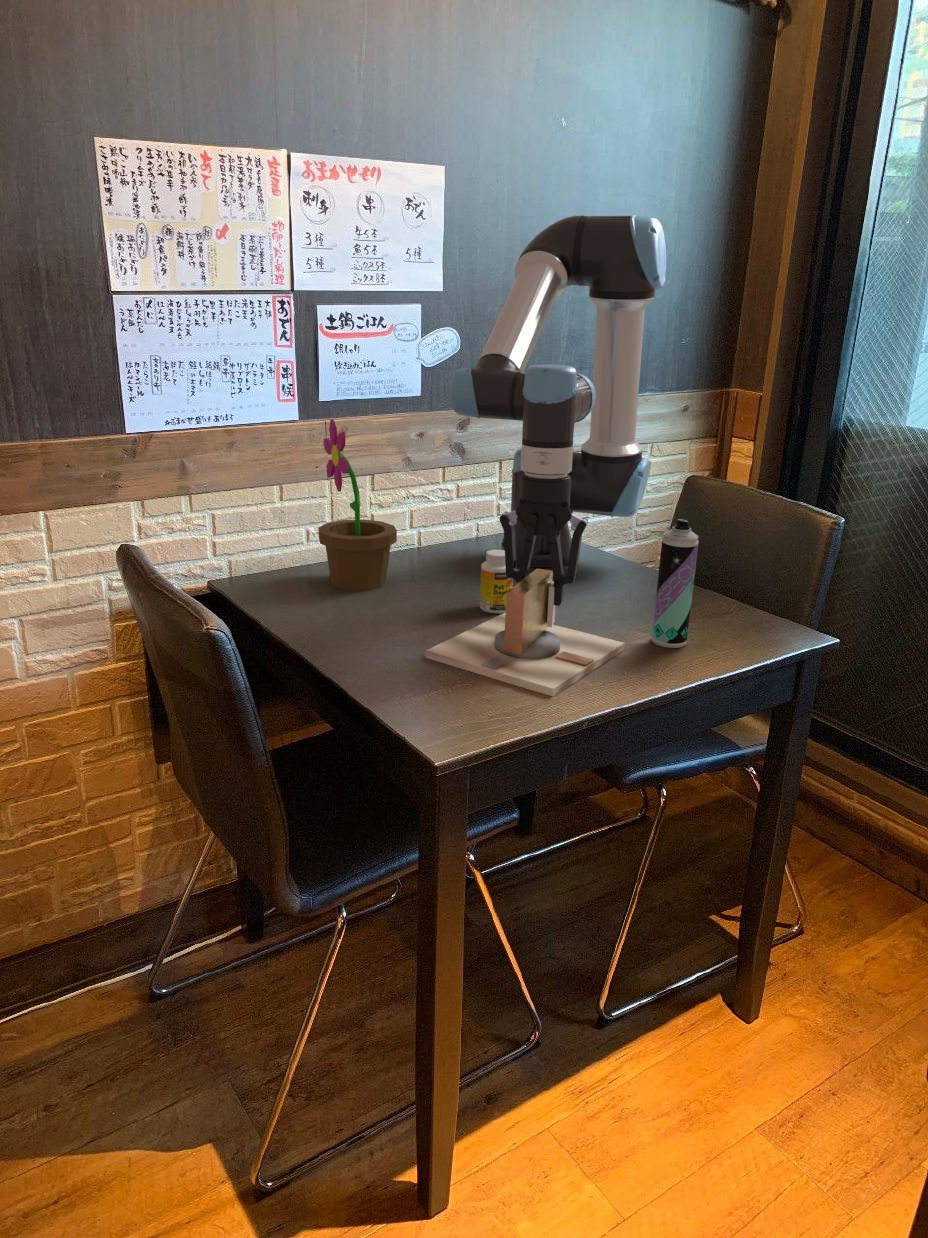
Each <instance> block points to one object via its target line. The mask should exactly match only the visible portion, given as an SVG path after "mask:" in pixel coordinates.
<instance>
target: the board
mask: <svg viewBox="0 0 928 1238" xmlns="http://www.w3.org/2000/svg"><path fill="white" fill-rule="evenodd" d="M505 614H506V612H505V613H500V614H499V615H497V616H495V617H493V618H490V619H489V620H486V621H484V622H482V623H480V624H478V625H476V626H474V627H471V628H470V629H468V630H466V631H465V630H464V631H463V632H462V633H459V634H458V635H455V636H453V637H451V638H449V639H447V640H445V641H443V642H441V643H438V644H436V645H435V646H432V647H430V648H428V649H426V651H425V659H428V660H432V661H435V662H438V663H442V664H445V665H449V666H451V667H453V668H454V667H455V668H458V669H461V670H464V671H467V672H471V673H474V674H477V675H481V676H484V677H486V678H487V677H488V678H490V679H494V680H497V681H500V682H503V683H507V684H510V685H513V686H515V687H516V686H517V687H520V688H523V689H527V690H529V691H533V692H536V693H539V694H543V695H546V696H550V697H552V698H553V697H555V696H556V695H559V694H560V693H561V692H562V691H564V690H566V689H567V688H569V687H570V686H572V685H573V684H575V683H576V682H578V681H580V680H581V679H582V678H584V677H585V676H587V675H588V674H590V673H592V672H593V671H594V670H596V669H597V668H599V667H600V666H603V664H605V663H607V662H608V661H610V660H611V659H613V658H615V657H616V656H617V655H618V654H620V653H622V652H623V651H625V646H626V645H625V642H623V641H619V640H615V639H612V638H611V639H610V638H606V637H603V636H599V635H597V634H596V635H595V634H591V633H588V632H584V631H580V630H576V629H572V628H569V627H564V626H560V625H556V624H553V626H552V627H547V628H546V629H545V630H544V631H543V632H542V633H541V634H540V635H539V636H538V637H537V638H536V641H534V642H532V643H531V644H530V645H529V646H528V647H527V648H526V650H525V651H524V652H523V653H522V654H518V653H513V652H508V651H504V635H505Z"/></svg>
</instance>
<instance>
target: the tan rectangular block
mask: <svg viewBox="0 0 928 1238" xmlns="http://www.w3.org/2000/svg"><path fill="white" fill-rule="evenodd" d="M551 582H553V570H550V569H549V570H548V569H545V568H544V569H543V568H536V569H534V570H533V571H532V572H530V573H528V576H527V577H526V578H524V579H523V580H522V581H520V582H519V583H518V584H515V585H514V586H513V588H511V589H509V590H508V591H507V593H506V614H505V635H504V651H508V652H513V653H518V654H522V653H523V652H524V651H525V650H526V648H527V647H528V646H529V645H530V644H531V643H532V642H534V641H536V638H537V637H538V636H539V635H540V634H541V633H542V632H543V631H544V630H545V629H546V628H547V617H548V597H549V586H550V584H551Z"/></svg>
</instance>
